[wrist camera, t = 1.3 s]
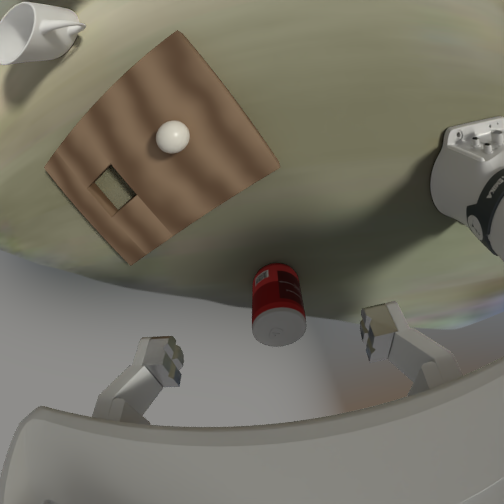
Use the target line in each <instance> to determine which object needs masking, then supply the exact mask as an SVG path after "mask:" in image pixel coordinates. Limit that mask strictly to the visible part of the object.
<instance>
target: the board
mask: <svg viewBox="0 0 504 504" xmlns="http://www.w3.org/2000/svg"><path fill="white" fill-rule="evenodd" d="M168 121H179V122H182V123H183V124H185V125H186V127H187V128H188V130H189V134H190V139H189V142H188V144H187V146H186V147H185V148H184V149H183V150H182V151H180V152H178V153H166V152H164V151H162V150H161V149H160V148H159V146H158V145H157V142H156V134H157V131H158V129H159V128H160V127H161V126H162V125H163V124H164V123H166V122H168ZM111 165H112V166H113V167H114V168H115V169H116V171H117V172H118V173H119V174H120V175H121V177H122V178H123V179H124V180H125V181H126V182H127V184H128V185H129V186H130V187H131V188H132V189H133V191H134V192H135V193H136V195H135V196H134V197H132V198H131V199H130V200H129V201H128V202H127V203H126V204H125V205H123V206H122V207H121V208H120V209H119V210H118V209H117V208H116V207H115V206H114V205H113V204H112V202H111V201H110V200H109V199H108V198H107V197H106V196H105V194H104V193H103V192H102V191H101V190H100V189H99V187H98V186H97V185H96V184H95V183H94V182H95V181H96V180H97V179H98V178H99V177H100V176H101V175H102V174H103V173H104V172H105V171H106V170H107V169H108V168H109V167H110V166H111ZM44 168H45V170H46V171H47V172H48V173H49V175H50V176H51V177H52V178H53V180H54V181H55V182H56V183H57V185H58V186H59V187H60V188H61V190H62V191H63V192H64V193H65V194H66V196H67V197H68V198H69V199H70V200H71V202H72V203H73V204H74V205H75V206H76V207H77V209H78V210H79V211H80V212H81V213H82V214H83V215H84V217H85V218H86V219H87V220H88V221H89V222H90V223H91V224H92V226H93V227H94V228H95V229H96V230H97V231H98V232H99V233H100V234H101V235H102V236H103V238H104V239H105V240H106V241H107V242H108V243H109V244H110V245H111V246H112V247H113V248H114V249H115V250H116V251H117V252H118V253H119V254H120V255H121V256H122V257H123V259H124V260H125V261H126V262H127V263H128V264H129V265H130V266H131V265H133V264H134V263H136V262H137V261H138V260H140V259H141V258H142V257H144V256H145V255H147V254H148V253H149V252H151V251H152V250H154V249H155V248H157V247H158V246H159V245H161V244H162V243H164V242H165V241H167V240H168V239H170V238H171V237H172V236H174V235H175V234H177V233H178V232H180V231H181V230H183V229H184V228H186V227H187V226H189V225H190V224H192V223H193V222H195V221H196V220H198V219H199V218H201V217H202V216H204V215H205V214H207V213H208V212H210V211H211V210H213V209H214V208H216V207H217V206H219V205H221V204H222V203H224V202H225V201H227V200H228V199H230V198H231V197H233V196H235V195H236V194H238V193H239V192H241V191H243V190H244V189H246V188H247V187H249V186H251V185H252V184H254V183H256V182H257V181H259V180H260V179H262V178H264V177H265V176H267V175H269V174H270V173H272V172H274V171H275V170H277V169H279V168H280V164H279V161H278V160H277V158H276V157H275V155H274V154H273V152H272V151H271V149H270V148H269V146H268V145H267V143H266V142H265V141H264V139H263V138H262V136H261V135H260V133H259V132H258V131H257V129H256V128H255V126H254V125H253V123H252V122H251V121H250V119H249V118H248V116H247V115H246V114H245V112H244V111H243V110H242V108H241V107H240V106H239V104H238V103H237V101H236V100H235V99H234V97H233V96H232V95H231V93H230V92H229V91H228V89H227V88H226V87H225V86H224V84H223V83H222V82H221V80H220V79H219V78H218V76H217V75H216V74H215V73H214V71H213V70H212V69H211V68H210V66H209V65H208V64H207V63H206V61H205V60H204V59H203V58H202V56H201V55H200V54H199V53H198V51H197V50H196V49H195V48H194V47H193V45H192V44H191V43H190V42H189V41H188V39H187V38H186V37H185V36H184V35H183V34H182V33H181V32H179V31H178V30H177V31H176V32H174V33H173V34H171V35H170V36H169V37H167V38H166V39H165V40H164V41H162V42H161V43H160V44H158V45H157V46H156V47H155V48H154V49H152V50H151V51H150V52H149V53H147V54H146V55H145V56H144V57H143V58H142V59H140V60H139V61H138V62H137V63H136V64H135V65H134V66H132V67H131V68H130V69H129V70H128V71H127V72H126V73H125V74H124V75H123V76H122V77H121V78H120V79H119V80H117V81H116V82H115V83H114V84H113V85H112V86H111V87H110V88H109V89H108V90H107V91H106V92H105V93H104V95H103V96H102V97H101V98H100V99H99V100H98V101H97V102H96V103H95V104H94V105H93V106H92V107H91V108H90V110H89V111H88V112H87V113H86V114H85V115H84V116H83V118H82V119H81V120H80V121H79V122H78V123H77V125H76V126H75V127H74V128H73V129H72V131H71V132H70V133H69V134H68V136H67V137H66V138H65V139H64V141H63V142H62V143H61V145H60V146H59V147H58V149H57V150H56V151H55V153H54V154H53V155H52V157H51V158H50V160H49V161H48V162H47V164H46V165H45V167H44Z"/></svg>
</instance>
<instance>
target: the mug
mask: <svg viewBox="0 0 504 504" xmlns="http://www.w3.org/2000/svg"><path fill="white" fill-rule="evenodd" d="M85 27H86V24H84V23H80V22H79V19H78V16H77V15H76V13H75V12H74V11H72V10H70V9H67V8H63V7H57V6H52V5H46V4H39V3H32V2H21V3H19V4H17V5H15V6H14V7H12V8H11V9H10V10H9V11H8V12H7V13H6V14H5V16H4V17H3V18H2V20H1V21H0V64H1V65H9V64H16V63H24V62H34V61H46V60H53V59H56V58H58V57H60V56H62V55H63V54H64V53H66V52H67V51H68V50H69V49H70V47H71V46H72V45H73V43H74V41H75V39H76V37H77V35H78V33H79V32H81V31H82V30H84V29H85Z"/></svg>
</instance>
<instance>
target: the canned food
mask: <svg viewBox="0 0 504 504" xmlns="http://www.w3.org/2000/svg"><path fill="white" fill-rule="evenodd" d="M252 330H253V335H254V337H255V338H256V340H258V341H259V342H260V343H262V344H265V345H268V346H276V347H277V346H285V345H289V344H292V343H294V342H296V341H297V340H298V339H300V338H301V337H302V336H303V334H304V333H305V330H306V318H305V311H304V306H303V300H302V295H301V289H300V284H299V279H298V276H297V274H296V272H295V271H294V270H293V269H292V268H291V267H289V266H288V265H285V264H281V263H274V264H269V265H267V266H264V267H263V268H261V269H260V270H259V271H258V272H257V274H256V276H255V278H254V280H253V296H252Z"/></svg>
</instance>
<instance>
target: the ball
mask: <svg viewBox="0 0 504 504" xmlns="http://www.w3.org/2000/svg"><path fill="white" fill-rule="evenodd" d="M189 139H190V134H189V130H188V128H187V127H186V125H185V124H183V123H182V122H179V121H168V122H166V123H164V124H163V125H162V126H161V127H160V128H159V129H158V131H157V134H156V142H157V145H158V146H159V148H160V149H161V150H162V151H164V152H166V153H178V152H180V151H182V150H183V149H184V148H185V147H186V146H187V144H188V142H189Z"/></svg>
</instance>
